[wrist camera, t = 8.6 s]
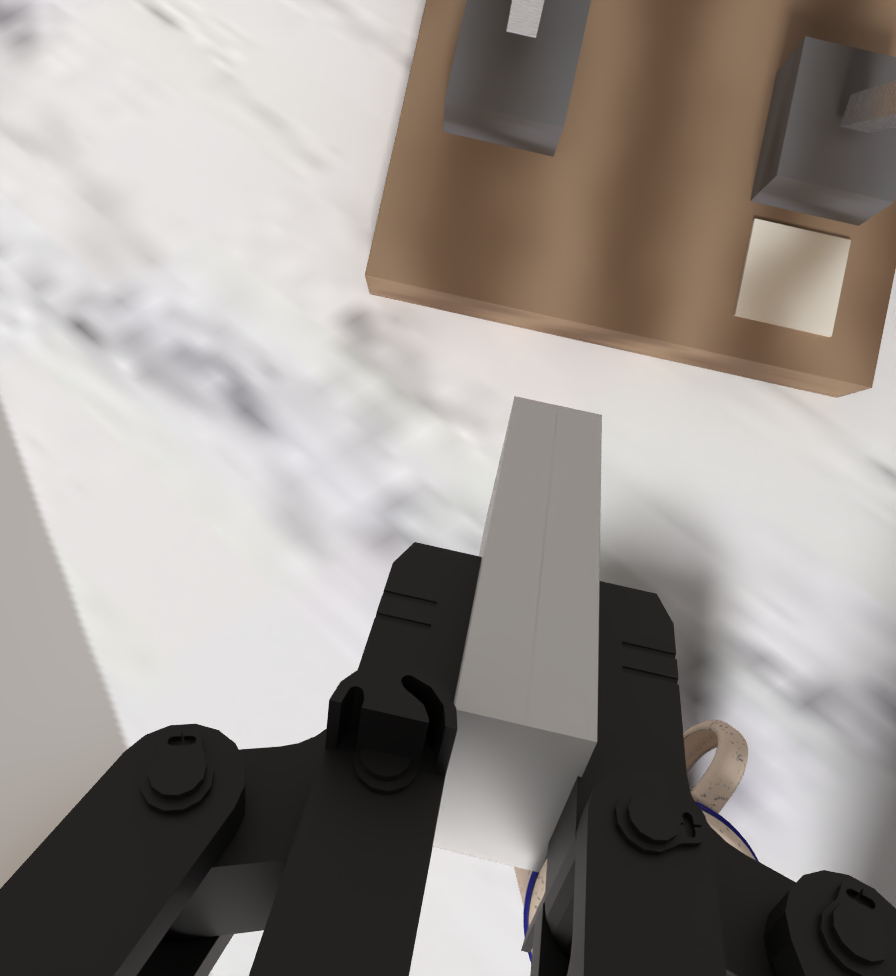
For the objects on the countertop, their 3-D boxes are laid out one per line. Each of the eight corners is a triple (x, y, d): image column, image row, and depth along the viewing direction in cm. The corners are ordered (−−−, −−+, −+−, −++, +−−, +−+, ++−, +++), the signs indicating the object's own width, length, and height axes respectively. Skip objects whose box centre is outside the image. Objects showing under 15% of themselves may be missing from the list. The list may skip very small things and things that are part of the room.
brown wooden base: (916, 1, 39) (999, -87, 33) (837, 397, 38) (908, 377, 32) (458, -105, 39) (463, -212, 33) (369, 293, 38) (359, 254, 32)
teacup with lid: (618, 964, 37) (706, 1170, 25) (463, 848, 37) (479, 1001, 25) (767, 755, 38) (920, 863, 26) (614, 640, 38) (697, 697, 26)
